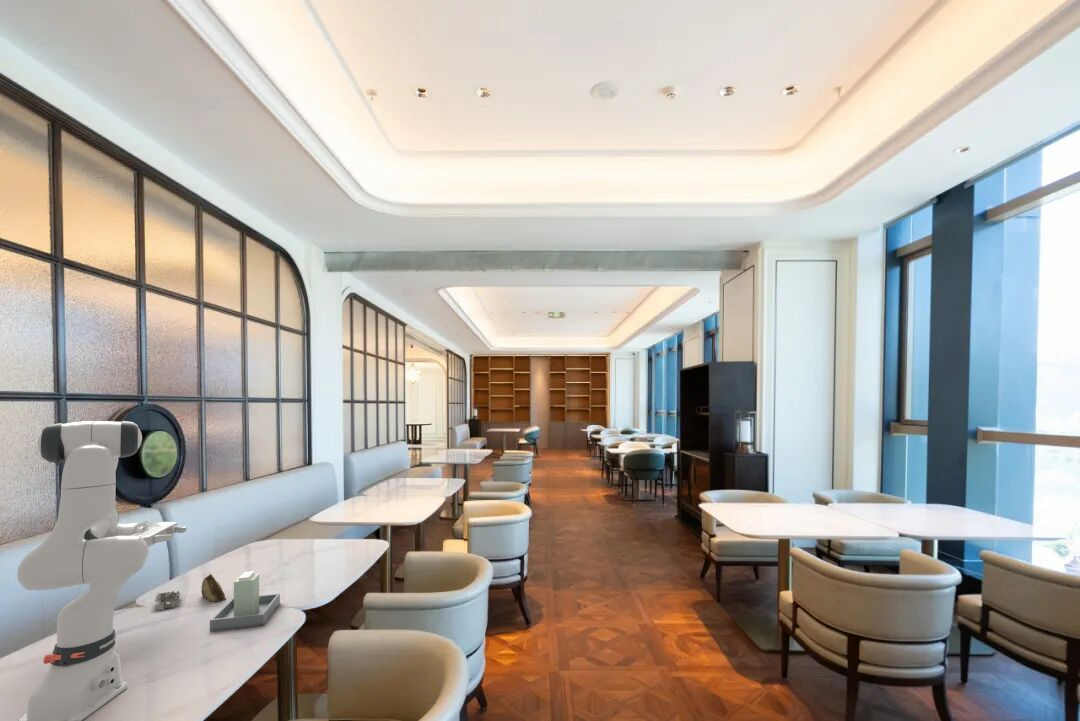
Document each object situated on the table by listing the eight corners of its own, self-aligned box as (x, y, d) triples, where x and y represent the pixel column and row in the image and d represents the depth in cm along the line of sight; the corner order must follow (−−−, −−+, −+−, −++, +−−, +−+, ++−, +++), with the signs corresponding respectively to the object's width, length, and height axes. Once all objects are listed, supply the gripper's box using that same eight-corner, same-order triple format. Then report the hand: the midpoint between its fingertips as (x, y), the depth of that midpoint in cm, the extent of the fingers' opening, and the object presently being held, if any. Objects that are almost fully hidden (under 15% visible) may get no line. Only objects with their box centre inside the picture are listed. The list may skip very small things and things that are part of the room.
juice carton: (253, 616, 175) (253, 576, 176) (233, 618, 174) (233, 578, 174) (259, 609, 181) (259, 570, 182) (240, 611, 180) (240, 572, 180)
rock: (193, 591, 196) (191, 595, 188) (209, 569, 200) (208, 573, 192) (220, 604, 200) (218, 609, 191) (235, 582, 203) (235, 586, 195)
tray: (263, 625, 170) (263, 614, 170) (209, 631, 167) (209, 620, 167) (280, 603, 188) (279, 593, 188) (231, 608, 185) (231, 598, 185)
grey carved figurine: (178, 607, 188) (178, 596, 188) (153, 612, 184) (153, 600, 184) (181, 597, 197) (181, 586, 197) (157, 602, 193) (157, 591, 193)
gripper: (113, 535, 162) (162, 531, 165) (149, 519, 182) (192, 516, 185) (113, 556, 162) (162, 552, 165) (149, 538, 182) (192, 534, 185)
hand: (178, 533), depth 175 cm, fingers open, 8 cm apart
